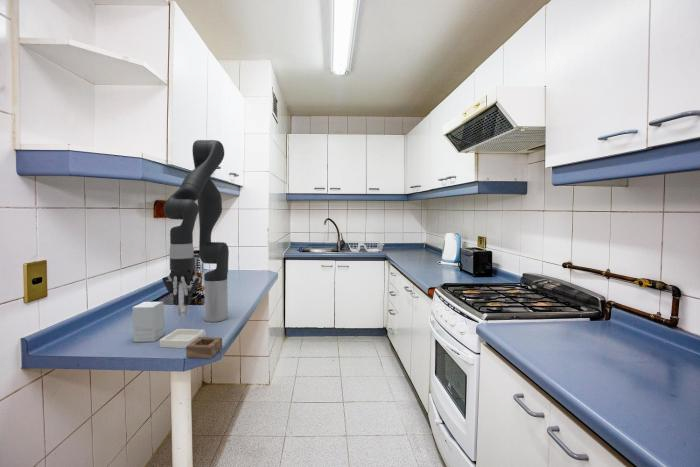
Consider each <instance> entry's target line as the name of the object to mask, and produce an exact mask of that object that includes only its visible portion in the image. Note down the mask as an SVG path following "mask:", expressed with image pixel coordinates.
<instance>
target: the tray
mask: <svg viewBox="0 0 700 467" xmlns="http://www.w3.org/2000/svg"><path fill="white" fill-rule="evenodd" d="M199 337H206V329H195V328H194V329H191V328H177V329H175V330H173V331H172V332H170V333H169V334H166V335H165V336H164V337H161V338H159V339H158V340H159V348H168V349H169V348H174V349H186V346H188V345H189V344H190V343H192V342H193V341H195V340H196V339H197V338H199Z"/></svg>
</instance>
